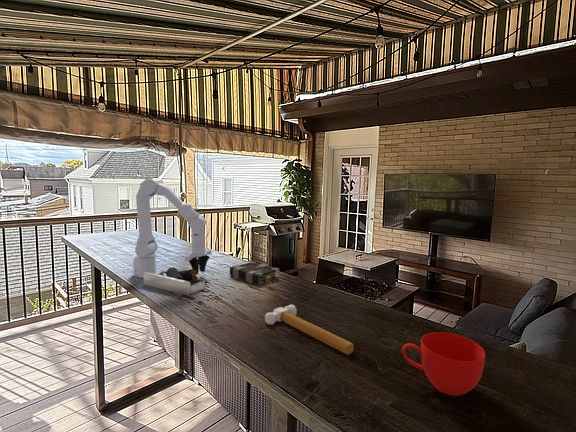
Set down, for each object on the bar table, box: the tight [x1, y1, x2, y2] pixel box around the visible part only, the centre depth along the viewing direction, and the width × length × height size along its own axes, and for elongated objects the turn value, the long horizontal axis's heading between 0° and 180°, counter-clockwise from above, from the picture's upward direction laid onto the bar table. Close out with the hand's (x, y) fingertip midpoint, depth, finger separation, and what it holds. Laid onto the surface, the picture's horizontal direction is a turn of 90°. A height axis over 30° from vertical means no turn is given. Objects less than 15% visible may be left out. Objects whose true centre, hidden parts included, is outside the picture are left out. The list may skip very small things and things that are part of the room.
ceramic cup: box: [401, 331, 486, 397], centre depth 76 cm, size 13×17×10 cm
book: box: [229, 261, 280, 285], centre depth 151 cm, size 15×25×5 cm, turn 48°
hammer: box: [264, 304, 355, 356], centre depth 100 cm, size 12×4×30 cm
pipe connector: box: [165, 267, 199, 283], centre depth 144 cm, size 12×5×15 cm
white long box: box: [143, 270, 206, 297], centre depth 139 cm, size 25×10×5 cm, turn 61°
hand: (199, 272), depth 152 cm, fingers open, 3 cm apart
